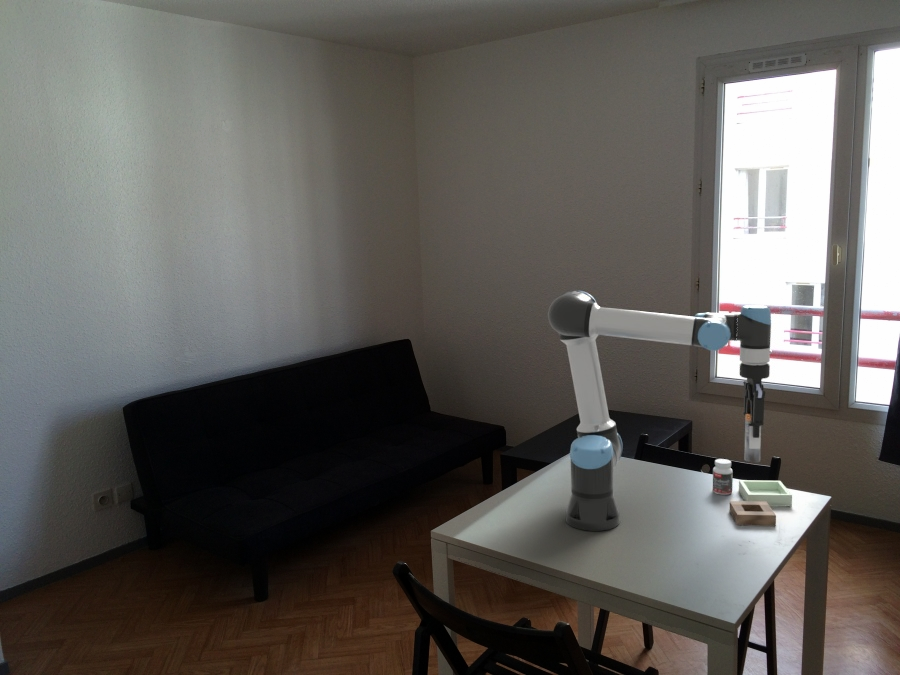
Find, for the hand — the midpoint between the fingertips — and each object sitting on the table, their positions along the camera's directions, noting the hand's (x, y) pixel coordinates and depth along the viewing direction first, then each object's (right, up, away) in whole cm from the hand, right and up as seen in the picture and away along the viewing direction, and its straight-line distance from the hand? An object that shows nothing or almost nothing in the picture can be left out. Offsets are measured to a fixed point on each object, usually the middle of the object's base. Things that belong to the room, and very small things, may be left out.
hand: (752, 445), depth 201 cm
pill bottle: (0, -18, +23) cm, 29 cm away
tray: (+10, -18, +17) cm, 27 cm away
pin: (0, -4, +1) cm, 4 cm away
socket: (+1, -21, +3) cm, 21 cm away
